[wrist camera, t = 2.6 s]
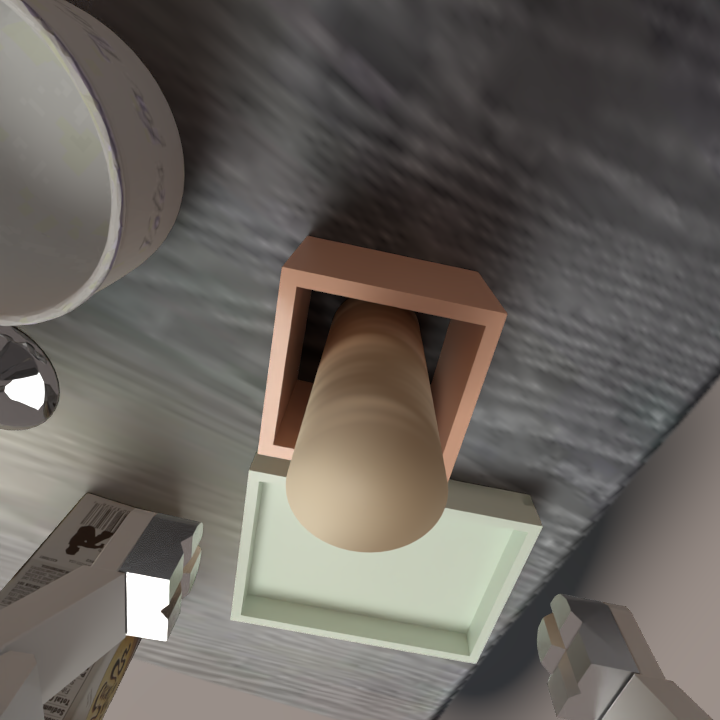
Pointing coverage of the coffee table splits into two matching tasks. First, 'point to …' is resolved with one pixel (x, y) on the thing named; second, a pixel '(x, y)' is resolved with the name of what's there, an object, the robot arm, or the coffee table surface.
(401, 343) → the peg
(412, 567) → the tray
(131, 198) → the teacup
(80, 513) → the coffee box
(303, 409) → the pink square ring
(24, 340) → the wine glass
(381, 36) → the coffee table surface
